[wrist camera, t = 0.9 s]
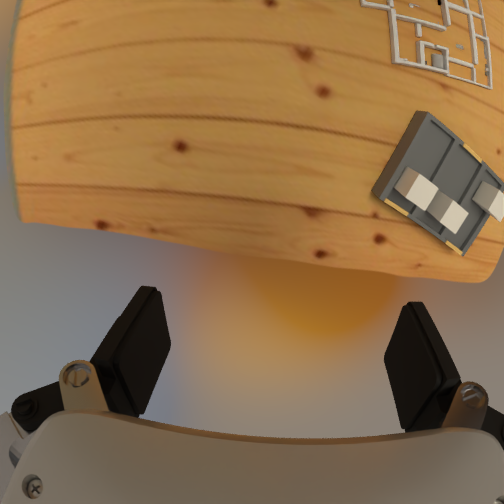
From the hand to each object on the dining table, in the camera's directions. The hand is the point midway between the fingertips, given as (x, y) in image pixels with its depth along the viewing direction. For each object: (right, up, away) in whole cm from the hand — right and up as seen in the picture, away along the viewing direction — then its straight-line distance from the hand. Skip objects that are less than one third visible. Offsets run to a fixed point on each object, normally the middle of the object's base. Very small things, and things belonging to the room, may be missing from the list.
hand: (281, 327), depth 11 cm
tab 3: (+29, +10, +19) cm, 36 cm away
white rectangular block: (+17, +11, +20) cm, 28 cm away
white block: (+22, +9, +21) cm, 31 cm away
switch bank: (+23, +12, +22) cm, 34 cm away
